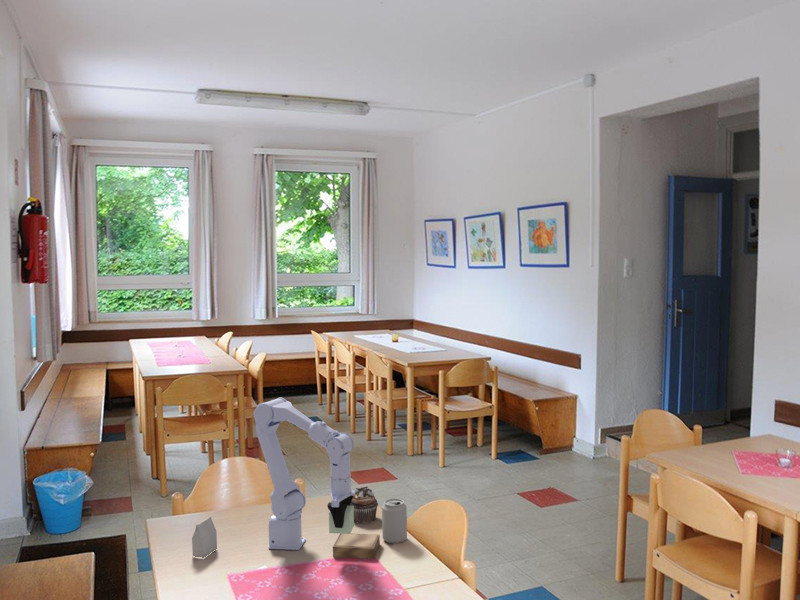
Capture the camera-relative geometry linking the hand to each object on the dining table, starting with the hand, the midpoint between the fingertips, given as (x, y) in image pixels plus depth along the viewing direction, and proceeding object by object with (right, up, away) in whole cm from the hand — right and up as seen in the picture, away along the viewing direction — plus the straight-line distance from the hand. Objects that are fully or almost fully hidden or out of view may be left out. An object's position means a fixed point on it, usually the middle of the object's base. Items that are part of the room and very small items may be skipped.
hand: (341, 522), depth 204 cm
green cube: (0, -2, 0) cm, 2 cm away
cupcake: (+5, -8, +29) cm, 31 cm away
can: (+15, -9, +12) cm, 22 cm away
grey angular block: (-41, -11, +4) cm, 42 cm away
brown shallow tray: (+4, -10, +5) cm, 11 cm away
